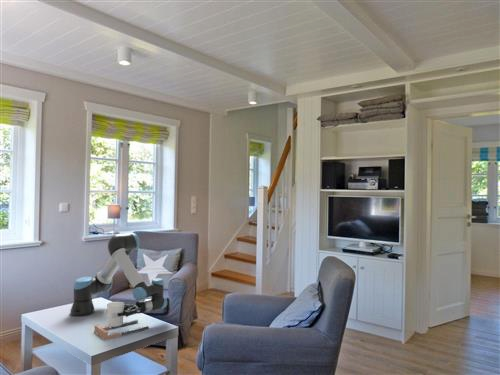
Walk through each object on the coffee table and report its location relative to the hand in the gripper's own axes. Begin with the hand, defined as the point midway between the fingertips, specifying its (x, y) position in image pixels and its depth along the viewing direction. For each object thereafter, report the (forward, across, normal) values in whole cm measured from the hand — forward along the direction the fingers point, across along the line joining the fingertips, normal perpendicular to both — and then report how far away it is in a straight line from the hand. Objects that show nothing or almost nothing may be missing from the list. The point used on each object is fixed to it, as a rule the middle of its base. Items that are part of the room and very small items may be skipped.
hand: (108, 313), depth 220 cm
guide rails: (-14, 0, -12) cm, 18 cm away
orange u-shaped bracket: (0, 0, -12) cm, 12 cm away
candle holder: (-5, 0, -7) cm, 9 cm away
